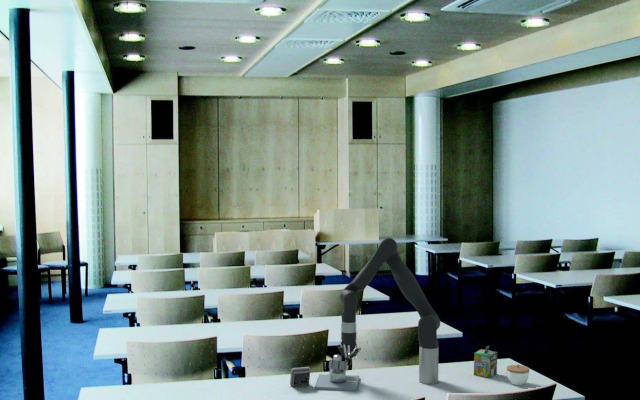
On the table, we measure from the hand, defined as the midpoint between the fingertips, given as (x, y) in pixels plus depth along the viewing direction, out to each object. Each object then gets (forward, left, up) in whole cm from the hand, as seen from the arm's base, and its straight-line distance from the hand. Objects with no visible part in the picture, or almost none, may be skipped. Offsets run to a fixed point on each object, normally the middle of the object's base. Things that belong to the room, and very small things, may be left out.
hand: (348, 365), depth 354 cm
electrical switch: (+22, +14, -7) cm, 27 cm away
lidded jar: (-82, -3, -7) cm, 82 cm away
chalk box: (-68, -16, -7) cm, 70 cm away
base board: (+5, +8, -7) cm, 11 cm away
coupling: (+4, +5, -1) cm, 6 cm away
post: (+5, +8, -6) cm, 11 cm away
